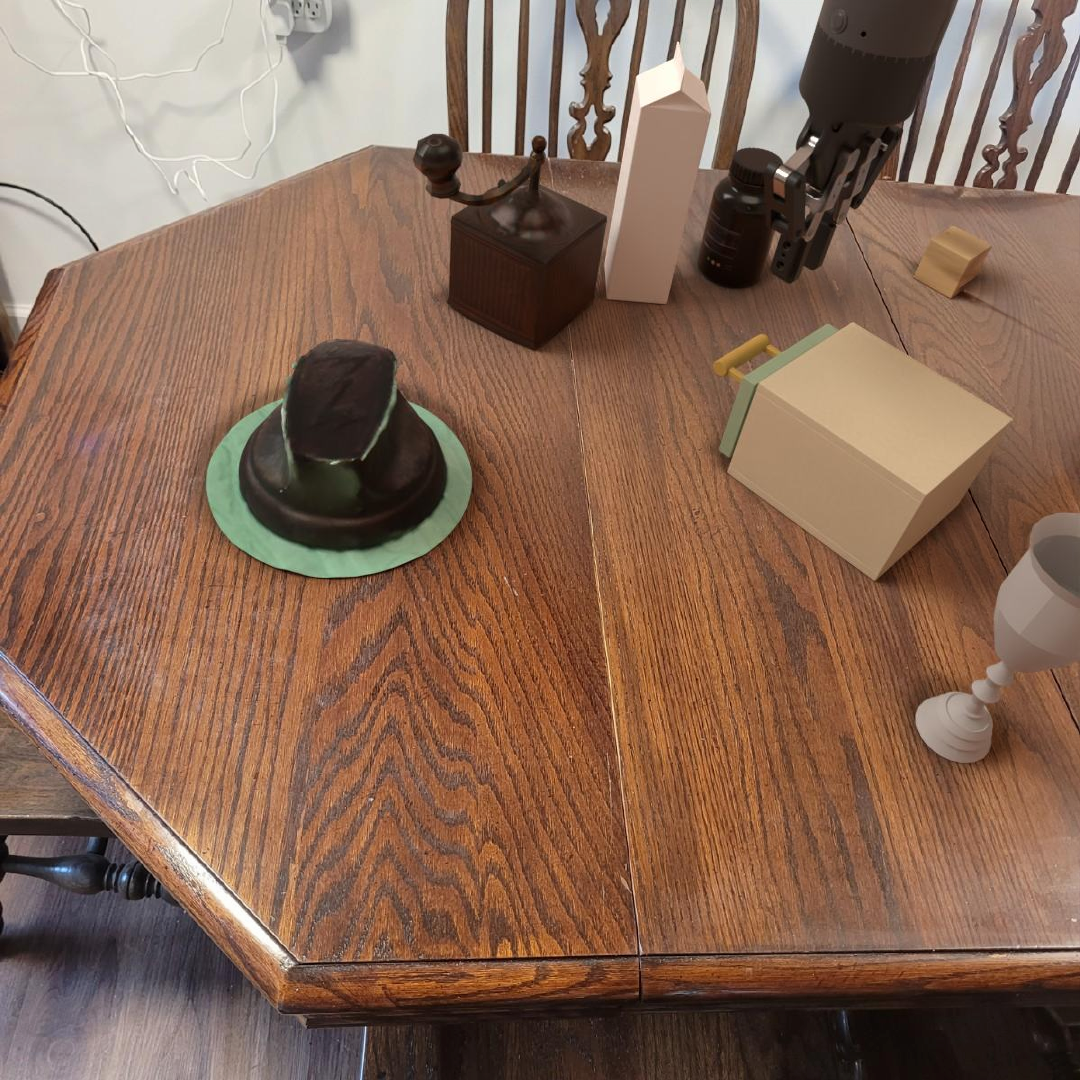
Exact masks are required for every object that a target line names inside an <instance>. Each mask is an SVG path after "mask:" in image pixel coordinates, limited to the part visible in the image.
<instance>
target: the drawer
mask: <svg viewBox="0 0 1080 1080" xmlns="http://www.w3.org/2000/svg"><path fill="white" fill-rule="evenodd" d="M839 330H840V329H838V328H837V327H834V326H833V325H831V324H830V323H825V324H824V325H822V326H821V327H819V328H817V329H815V330H814V331H813V332H812V333H810V334H808V335H807V336H805V337H803V338H802V339H801V340H799V341H797V342H795V343H794V344H792V345H791V346H790V347H788V348H786V349H785V350H783V351H781V350H779V349H778V348H776V347H775V346H773V345H772V344H771V340H770V338H769V336H768V335H766V334H764V333H759V334H758V335H756V336H754V337H753V338H751V339H750V340H748V341H746V342H745V343H743V344H742V345H740V346H738V347H737V348H735V349H733V350H732V351H730V352H728V353H727V354H725V355H723V356H722V357H720V358H718V359H717V360H715V361H714V362H713V365H712V369H713V372H714V373H715V374H716V375H717V376H718V377H725V376H728V377H729V378H731V379H732V380H733V381H735V382H736V383H738V384H739V388H738V390H737V393H736V396H735V399H734V402H733V405H732V409H731V412H730V414H729V417H728V421H727V423H726V426H725V429H724V433H723V435H722V438H721V441H720V443H719V444H720V445H719V447H718V451H719V452H720V453H722V454H723V455H724V456H726V457H728V459H730V458H732V457H733V454H734V451H735V449H736V446H737V443H738V440H739V437H740V434H741V432H742V429H743V426H744V423H745V420H746V418H747V415H748V412H749V409H750V406H751V403H752V401H753V398H754V395H755V392H756V389H757V387H758V384H759V382H761V381H762V380H764V379H765V378H767V377H768V376H770V375H772V374H773V373H775V372H776V371H778V370H779V369H781V368H782V367H784V366H785V365H787V364H788V363H790V362H792V361H793V360H795V359H796V358H798V357H799V356H801V355H802V354H804V353H805V352H807V351H808V350H810V349H812V348H813V347H815V346H816V345H818V344H819V343H821V342H822V341H824V340H825V339H827V338H828V337H830V336H832V335H833V334H835V333H836V332H838V331H839ZM763 352H764V353H765V354H766V355H768V356H769V357H771V358H770V359H769V360H768V361H766V362H764V363H763V364H761V365H759V366H758V367H757V368H754V369H753V370H752V371H750V372H748V373H747V374H744V373H743V372H741V371H739V370H738V368H739V367H741V366H743V365H744V364H746V363H747V362H749V361H751V360H752V359H754V358H755V357H757V356H759V355H761V354H762V353H763Z"/></svg>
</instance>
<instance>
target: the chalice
mask: <svg viewBox="0 0 1080 1080" xmlns="http://www.w3.org/2000/svg"><path fill="white" fill-rule="evenodd" d="M993 643H994V651H995V653H996V655H997V658H999V659H1000V661H999V662H998V663H995V664H990V665H988V666H987V668H986V678H985V679H976V680H973V682H972V683H971V691H972V693H966V692H962V691H949V692H945V693H942V694H939V695H937V696H932V697H930V698H927V699H924V700H923V701H922V703H920V704H919V705H918V707H917V710H916V712H915V726H916V729H917V731H918V733H919V736H920V738H921V739H922V740H923V741H924V743H925V744H926V745H927V747H929V748H930V749H931V750H932V751H933V752H935V753H936V754H937V755H939V756H941V757H943V758H945V759H947V760H948V761H952V762H955V763H960V764H974V763H976V762H978V761H979V762H980V761H981V760H983V759H984V758H985V757H986V756H987V755H988V753H990V750H991V749H990V748H991V746H992V735H993V729H994V723H993V718H992V715H991V713H990V711H989V709H988V707H987V706H986V705H987V704H996V703H998V702H999V701H1000V700H1001V691H1000V689H1001V688H1003V687H1010V686H1011V685H1012V684H1014V674H1015V672H1019V673H1024V674H1035V673H1039V672H1045V671H1049V670H1054V669H1060V668H1064V667H1066V666H1069V665H1072V664H1075V663H1078V662H1080V512H1057V513H1053V514H1049V515H1046V516H1045V515H1044V516H1043V517H1042V518H1041V519H1039V520H1038V521H1037V522H1036V523H1034V524H1033V526H1032V529H1031V532H1030V536H1029V548H1028V549H1027V551H1026V552H1025V553H1024V554H1023V556H1022V557H1021V559H1020V560H1019V561H1018V562H1017V564H1016V565H1015V566H1014V567H1013V569H1012V570H1011V571H1010V573H1009V574H1008V575H1007V577H1006V578H1005V579H1004V581H1003V582H1002V583H1001V585H1000V587H999V590H998V594H997V596H996V601H995V607H994V611H993Z"/></svg>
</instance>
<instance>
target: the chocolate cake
mask: <svg viewBox="0 0 1080 1080" xmlns="http://www.w3.org/2000/svg"><path fill="white" fill-rule="evenodd" d="M291 369H292V370H293V372H292V375H289V376H287V377H286V378H285V381H286V385H287V386H286V388H285V392H284V394H283V397H282V398H280V399H278V400H276V401H275V400H274V401H271V402H270V403H267V404H265V405H264V406H262V407H260V408H258V409H256V410H255V411H252V412H251V413H249V414H247V415H246V416H244V417H243V418H242V419H240V420H239V421H238V422H237V423H236V424H235V425H233V427H231V428H230V430H229V431H228V433H227V434H226V435H225V436H224V437H223V438H222V439H221V441H220V443H219V444H218V445H217V447H216V448H215V450H214V451H213V454H212V456H211V458H210V460H209V463H208V465H207V469H206V475H205V476H206V477H205V486H206V487H205V490H206V491H205V492H206V497H207V501H208V506H209V509H210V511H211V514H212V515H213V518H214V520H215V522H216V524H217V526H218V527H219V529H220V530H221V532H222V533H223V534H224V535H225V536H226V538H227V539H228V540H229V541H230V542H231V543H232V544H233V545H235V546H236V547H237V548H239V549H240V550H242V551H244V552H245V553H247V554H248V555H249V556H251V557H253V558H254V559H256V560H258V561H260V562H262V563H265V564H266V565H269V566H271V567H273V568H275V569H280V570H286V571H290V572H293V573H297V574H300V575H303V576H307V577H313V578H323V579H324V578H325V579H328V578H330V579H331V578H355V577H356V578H357V577H361V576H366V575H373V574H376V573H381V572H383V571H387V570H390V569H393V568H396V567H399V566H401V565H403V564H405V563H408V562H410V561H412V560H415V559H417V558H420V557H422V556H424V555H426V554H427V553H429V552H430V551H431V550H433V549H434V548H435V547H437V546H438V545H439V544H440V543H442V542H443V541H444V540H445V539H446V538H447V537H448V536H449V535H450V534H451V533H452V532H453V530H454V529H455V528H456V526H458V524H459V523H460V521H461V520H462V517H463V516H464V514H465V512H466V510H467V508H468V505H469V502H470V499H471V494H472V488H473V473H472V466H471V463H470V459H469V457H468V454H467V452H466V450H465V447H464V445H462V443H461V440H459V438H458V437H457V435H456V434H455V433H454V432H453V431H452V429H450V427H449V426H448V425H447V424H446V423H445V422H444V421H443V420H442V419H440V418H439V417H438V416H436V415H435V414H433V413H432V412H431V411H429V410H427V409H426V408H424V407H422V406H420V405H417V404H415V403H413V402H411V401H409V400H407V398H405V396H404V395H403V394H402V392H401V390H400V389H399V388H398V385H399V384H398V380H397V378H396V375H397V373H398V360H397V358H396V354H395V353H394V351H392V350H391V349H389V348H387V347H383V346H380V345H377V344H373V343H369V342H366V341H363V340H362V341H361V340H356V339H345V338H344V339H343V338H342V339H341V338H335V339H328V340H324V341H322V342H319V343H318V344H317V345H316V346H315V347H314V348H311V349H309V351H308V352H307V353H305V354H303V355H301V356H299V358H298V359H296V361H295V362H294V363H292V364H291Z"/></svg>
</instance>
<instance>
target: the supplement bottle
mask: <svg viewBox="0 0 1080 1080" xmlns="http://www.w3.org/2000/svg"><path fill="white" fill-rule="evenodd" d="M772 160H776V161H778V162H780V163H782V164H784V161H783V159H782V158H781V157H780V156H779V155H777V153H775V152H773V151H770V150H768V149H764V148H760V147H750V146H749V147H744V148H740V149H738V150H737V151H735V152H734V153H733V155H732V159H731V163H730V166H729V168H728V173H727V175H726V176H724V177H722V178H721V179H720V180H719V181H717V183H716V185H715V187H714V190H713V192H712V196H711V200H710V205H709V209H708V213H707V218H706V222H705V225H704V230H703V234H702V238H701V243H700V245H699V246H700V247H699V250H698V255H697V256H698V257H697V267H698V269H699V272H701V274H702V275H703V276H704V277H705V278H706V279H708V280H709V281H711V282H713V283H716V285H720V286H723V287H728V288H743V287H744V288H745V287H748V286H750V285H753V284H754V283H756V282H758V281H759V280H760V278H761V277H762V275H763V273H764V270H765V266H766V264H767V260H768V258H769V257H768V256H769V254H770V250H771V248H772V243H773V240H774V237H775V234H776V231H775V230H773V229H772V228H770V227H768V226H766V215H765V187H764V172H765V169H766V167H767V165H768V164H769V163H770V162H771V161H772Z"/></svg>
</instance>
